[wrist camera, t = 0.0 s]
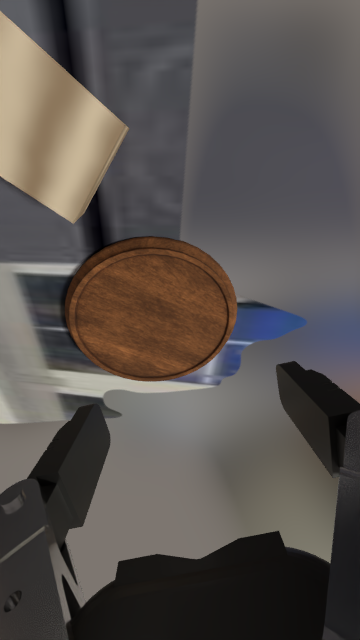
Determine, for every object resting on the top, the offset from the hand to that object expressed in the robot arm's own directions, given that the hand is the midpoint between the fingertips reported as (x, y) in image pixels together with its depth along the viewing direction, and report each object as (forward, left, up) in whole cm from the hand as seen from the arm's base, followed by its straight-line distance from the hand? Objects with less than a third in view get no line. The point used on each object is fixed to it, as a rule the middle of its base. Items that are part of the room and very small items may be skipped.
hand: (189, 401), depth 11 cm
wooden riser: (-16, 0, -31) cm, 35 cm away
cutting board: (+9, -16, -32) cm, 37 cm away
